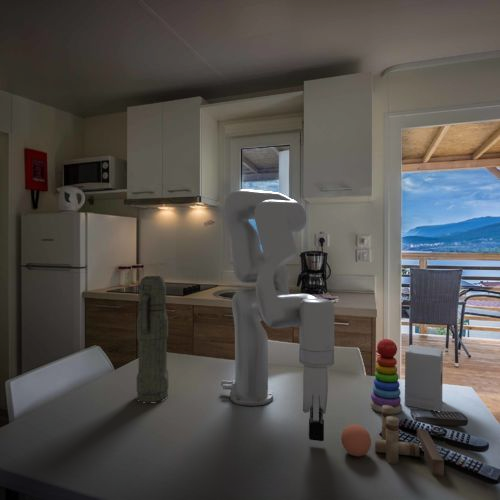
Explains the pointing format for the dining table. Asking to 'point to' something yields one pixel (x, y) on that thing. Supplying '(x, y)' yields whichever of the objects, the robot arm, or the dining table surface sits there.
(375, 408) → the stacking toy
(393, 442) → the pin
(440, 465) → the wall
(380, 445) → the pin front
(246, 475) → the dining table surface
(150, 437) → the dining table surface
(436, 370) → the supplement box
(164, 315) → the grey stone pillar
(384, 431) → the pin
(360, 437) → the ball
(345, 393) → the dining table surface
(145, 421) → the dining table surface
